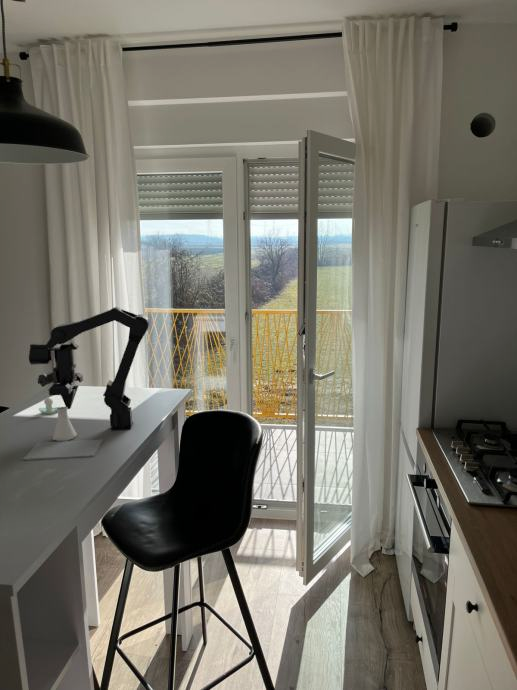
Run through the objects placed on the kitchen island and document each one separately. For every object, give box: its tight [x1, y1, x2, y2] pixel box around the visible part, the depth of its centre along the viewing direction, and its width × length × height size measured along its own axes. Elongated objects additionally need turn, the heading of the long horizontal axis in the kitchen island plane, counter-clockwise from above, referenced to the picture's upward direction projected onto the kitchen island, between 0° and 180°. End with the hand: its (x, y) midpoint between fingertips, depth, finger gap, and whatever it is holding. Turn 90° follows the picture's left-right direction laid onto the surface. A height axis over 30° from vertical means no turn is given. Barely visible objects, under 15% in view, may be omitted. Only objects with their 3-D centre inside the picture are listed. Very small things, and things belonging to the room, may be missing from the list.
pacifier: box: [38, 397, 60, 415], centre depth 198 cm, size 7×6×6 cm
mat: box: [23, 439, 104, 461], centre depth 161 cm, size 20×13×1 cm, turn 95°
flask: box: [51, 406, 78, 442], centre depth 171 cm, size 7×7×10 cm
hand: (68, 408), depth 177 cm, fingers closed
